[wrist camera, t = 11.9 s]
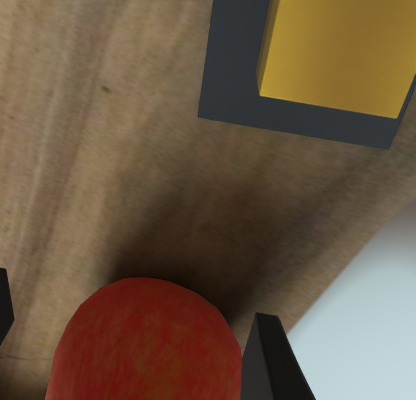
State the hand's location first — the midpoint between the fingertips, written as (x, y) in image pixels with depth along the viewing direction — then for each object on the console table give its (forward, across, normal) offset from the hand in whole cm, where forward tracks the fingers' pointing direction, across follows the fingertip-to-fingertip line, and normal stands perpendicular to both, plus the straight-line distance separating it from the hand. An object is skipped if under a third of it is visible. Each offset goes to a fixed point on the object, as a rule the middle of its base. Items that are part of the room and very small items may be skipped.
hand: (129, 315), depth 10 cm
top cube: (+9, -5, -8) cm, 13 cm away
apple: (+10, 0, +10) cm, 14 cm away
